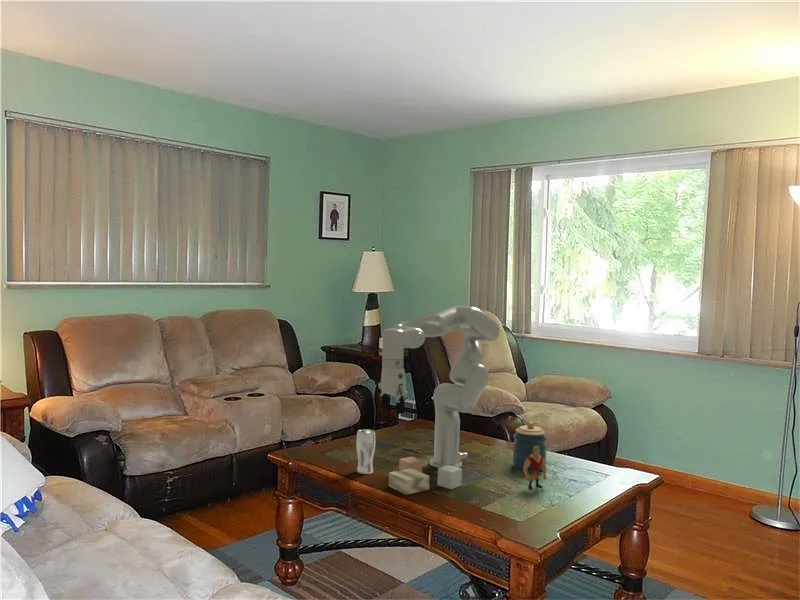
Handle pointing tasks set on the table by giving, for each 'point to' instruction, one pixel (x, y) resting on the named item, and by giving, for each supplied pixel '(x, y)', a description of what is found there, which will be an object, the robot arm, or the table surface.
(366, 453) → the beer glass
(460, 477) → the grey block
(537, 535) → the table surface
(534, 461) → the action figure
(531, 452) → the canister
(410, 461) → the terracotta block
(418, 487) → the ash base block
